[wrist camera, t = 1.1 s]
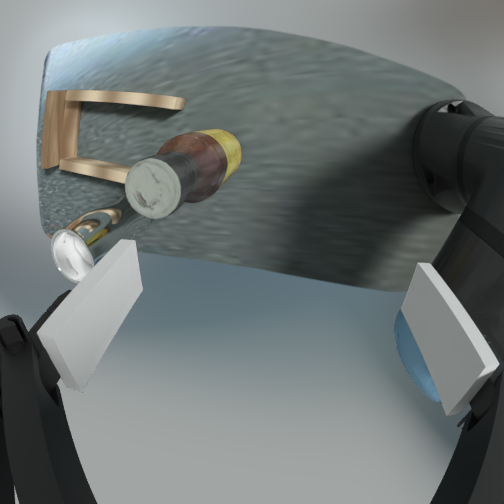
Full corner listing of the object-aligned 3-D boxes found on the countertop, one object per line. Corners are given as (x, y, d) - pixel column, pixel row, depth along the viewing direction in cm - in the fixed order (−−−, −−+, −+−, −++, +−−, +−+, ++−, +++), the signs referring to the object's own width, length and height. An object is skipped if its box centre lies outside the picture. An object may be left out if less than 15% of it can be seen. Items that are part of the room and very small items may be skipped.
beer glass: (115, 228, 42) (54, 276, 28) (116, 185, 39) (46, 221, 25) (154, 238, 41) (98, 293, 28) (157, 193, 38) (93, 235, 25)
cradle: (185, 98, 32) (173, 96, 29) (169, 186, 38) (156, 194, 34) (64, 90, 33) (47, 91, 29) (57, 162, 38) (41, 167, 34)
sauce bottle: (199, 179, 37) (115, 241, 19) (192, 132, 34) (94, 154, 16) (249, 173, 35) (200, 235, 18) (243, 124, 33) (183, 133, 15)
